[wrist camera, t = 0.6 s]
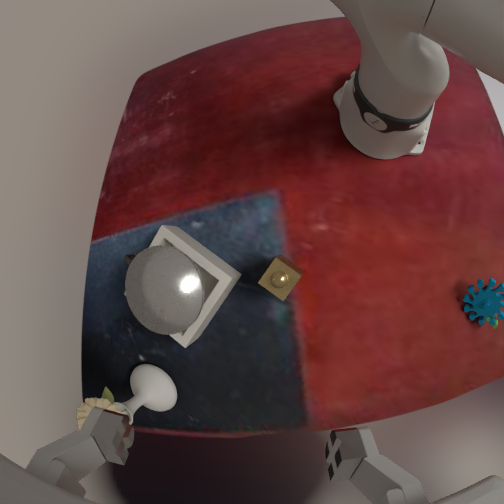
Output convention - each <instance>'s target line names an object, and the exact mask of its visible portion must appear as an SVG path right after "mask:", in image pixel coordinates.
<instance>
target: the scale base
mask: <svg viewBox="0 0 504 504" xmlns="http://www.w3.org/2000/svg"><path fill="white" fill-rule="evenodd" d="M152 246H171V247H174V248H177V249H179V250H181V251H182V252H184V253H185V254H187V255H188V256H189V257H190V258H191V259H192V260H193V262H194V263H195V264H196V266H197V267H198V269H199V271H200V274H201V276H202V279H203V283H204V290H205V297H204V304H203V308H202V311H201V313H200V315H199V317H198V318H197V320H196V321H195V322H194V323H193V324H192V325H191V326H190V327H188V328H187V329H185V330H184V331H182V332H179V333H176V334H171V335H170V336H171V337H172V338H174V339H175V340H176V341H177V342H178V343H180V344H181V345H182V346H183V347H185V348H186V347H187V346H189V345H190V344H191V343H192V342H194V341H195V340H196V339H198V338H199V336H200V335H201V333H202V332H203V330H204V329H205V328H206V326H207V325H208V323H209V322H210V320H211V319H212V317H213V316H214V315H215V313H216V312H217V310H218V309H219V307H220V306H221V304H222V303H223V301H224V300H225V299H226V297H227V296H228V294H229V293H230V291H231V290H232V288H233V287H234V285H235V284H236V282H237V281H238V280H239V278H240V277H241V275H242V274H240V273H239V272H238V271H236V270H235V269H234V268H232V267H231V266H230V265H228V264H227V263H226V262H224V261H223V260H221V259H220V258H219V257H217V256H216V255H215V254H213V253H212V252H211V251H209V250H208V249H207V248H205V247H204V246H203V245H201V244H200V243H199V242H197V241H196V240H195V239H193V238H192V237H191V236H189V235H188V234H187V233H185V232H184V231H183V230H181V229H180V228H179V227H177V226H168V225H162V226H161V227H160V229H159V231H158V232H157V234H156V236H155V238H154V239H153V241H152V243H151V245H150V246H149V247H152ZM124 295H125V296H126V292H125V293H124Z"/></svg>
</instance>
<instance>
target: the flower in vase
mask: <svg viewBox="0 0 504 504" xmlns="http://www.w3.org/2000/svg"><path fill="white" fill-rule="evenodd" d="M130 384H131V388H132V391H133V394H134V395H135V396H134V397H133V398H131V399H130V400H128V401H126V402H124V403H119V402H114V397H113V395H112V393H111V392H110V391H109V389H108V388H107V387H105V389H104V392H103V394H102V397H101V399H98V398H94V399H93V398H90V399H89V398H87V399H85V403H82V404H81V407H78V408H77V420H78V426H79V430H80V429H81V427H82V425H83V423H84V422H85V420H86V418H87V417H88V415H89V413H90V411H91V410H92V408H93V407H95V406H97V407H100V408H104V409H107V410H111V411H115V412H118V413H122V414H126V415H128V416H129V419H130V421H129V424H130V425H131V424H132V422H133V414H134V413H135V411H136V410H137V409H138V408H139V407H140V406H141V405H144V406H145V407H147V408H149V409H151V410H155V411H166V410H169V409H171V408H172V407H173V406H174V405H175V403H176V400H177V391H176V387H175V385H174V383H173V381H172V379H171V378H170V377H169V375H168V374H167V373H166V372H164V371H163V370H162V369H160V368H158V367H156V366H153V365H150V364H142V365H139V366H137V367H136V368H135V369H134V370H133V372H132V374H131V378H130ZM113 402H114V403H113Z"/></svg>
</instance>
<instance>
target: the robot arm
mask: <svg viewBox="0 0 504 504" xmlns="http://www.w3.org/2000/svg"><path fill="white" fill-rule="evenodd" d="M330 1H331V2H333V3H334V4H335V5H336V6H337V7H338V8H339V9H340V10H341V12H342V13H343V14H344V15H345V16H346V18H347V19H348V20H349V22H350V23H351V25H352V26H353V28H354V30H355V31H356V33H357V35H358V37H359V40H360V43H361V62H360V64H359V65H358V67H357V70H356V71H354V72H353V73H352V74H351V76H350V77H351V79H350V80H349V81H348V80H347V81H346V82H345V84H344V86H343V87H341V88H340V89H339V90H338V91H337V92H336V93H335V94H334V97H333V100H334V103H335V105H336V106H337V108H338V110H339V113H340V123H341V127H342V130H343V132H344V134H345V136H346V138H347V139H348V140H349V142H350V143H351V144H352V145H353V146H354V147H355V148H356V149H358V150H359V151H360V152H362V153H364V154H366V155H368V156H370V157H373V158H377V159H393V158H397V157H400V156H402V155H420V154H421V153H422V152H423V149H424V146H425V142H426V138H427V134H428V130H429V126H430V122H431V118H432V114H433V109H434V104H435V101H436V99H437V98H438V97H439V95H440V94H441V93H442V92H443V90H444V89H445V88H446V86H447V83H448V80H449V66H448V62H447V59H446V56H445V53H444V51H443V49H442V47H444V48H446V49H448V50H449V51H451V52H452V53H454V54H456V55H457V56H459V57H460V58H462V59H464V60H465V61H467V62H468V63H470V64H471V65H472V66H474V67H475V68H477V69H478V70H480V71H481V72H483V73H485V74H487V75H489V76H491V77H492V78H494V79H496V80H498V81H500V82H501V83H503V84H504V0H330ZM441 46H442V47H441ZM418 143H420V144H418ZM129 421H130V419H129V416H128V415H126V414H122V413H118V412H115V411H111V410H107V409H104V408H100V407H97V406H95V407H93V408H92V410H91V411H90V413H89V415H88V417H87V418H86V420H85V422H84V423H83V425H82V427H81V429H80V430H79V432H78V431H75V432H73V433H71V434H69V435H67V436H65V437H63V438H61V439H59V440H57V441H55V442H52V443H50V444H48V445H46V446H44V447H42V448H40V449H38V450H37V451H36V453H35V454H34V456H33V458H32V459H31V461H30V463H29V464H28V466H27V468H26V469H24V468H22V467H20V466H19V465H17V464H16V463H14V462H12V461H11V460H9V459H8V458H6V457H5V456H3V455H2V454H0V504H99V503H96V502H93V501H90V500H88V499H85V498H84V495H85V493H86V491H85V489H84V488H83V487H82V485H81V484H80V483H79V482H78V481H80V480H81V479H82V478H84V477H85V476H87V475H88V474H89V473H91V472H92V471H93V470H95V469H96V468H98V467H99V466H100V465H102V464H103V463H104V462H106V460H108V461H111V462H114V463H118V464H122V465H124V464H125V461H126V458H127V456H128V451H127V448H129V447H130V446H131V445H132V443H133V439H134V430H133V427H132V426H131V425H130V424H129ZM330 437H331V439H330V440H328V441H327V444H326V448H325V457H326V461H327V462H328V463H329V464H330V466H329V468H328V473H329V478H330V482H332V481H341V480H350V481H351V482H352V483H353V484H354V485H355V486H356V487H357V488H358V489H359V490H360V491H361V492H362V493H363V494H364V495H365V496H366V497H367V498H368V499H369V500H370V501H371V502H372V503H373V504H504V479H503V478H501V477H498V476H496V475H492V476H489V477H487V478H485V479H483V480H481V481H479V482H477V483H475V484H473V485H471V486H469V487H467V488H465V489H463V490H461V491H458V492H456V493H454V494H451V495H449V496H447V497H445V498H442V499H439V500H437V501H435V502H432V503H428V500H427V497H426V495H425V492H424V490H423V487H422V484H421V482H420V481H419V480H418V479H416V478H415V477H413V476H412V475H410V474H409V473H408V472H406V471H405V470H403V469H402V468H400V467H399V466H398V465H396V464H395V463H393V462H392V461H390V460H389V459H388V458H386V457H385V456H384V455H379V452H378V450H377V447H376V444H375V441H374V438H373V436H372V433H371V430H370V428H369V427H368V426H365V427H358V428H346V429H337V430H332V432H331V434H330Z"/></svg>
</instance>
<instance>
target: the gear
mask: <svg viewBox="0 0 504 504" xmlns="http://www.w3.org/2000/svg"><path fill="white" fill-rule="evenodd" d="M483 285H484V280H483V279H479V280H478V282H477V286H478V288H479V292H477V293H476V292H474V285H470V286H469V287H468V292H469V293H471V294H472V296H473V298H474V299H471V298H470V297H469V295H468V294H465V296H464V298H463V301H464V302H468V303H470V304H472V305H473V306H470V305H469V304H465V307H464V312H469V311H475V312H477V313H473V312H472V313H470V315H469V318H470V319H471V321H473V320H474V319H475V318H476V317H478V316H483V317H480V318H479V321H478V323H479V324H481V325H483V324H484V321H485V319H486V321H489V324H491V325H493V328H497V325H498V320H495V319H496V313H498V314H499V315H498V319H499V320H502V319H504V313H503V312H502V311H501V310H500V307H503V308H504V302H502V301H501V299H504V294H498V293H497V292H504V284H503V283H501V284H500V285H499V286H498V287H497V288H495V289H491V287H494V286H495V280H494V279H492V278H490V279H489V284H488V285H487V287H486V288H485V289H482V287H483Z"/></svg>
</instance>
